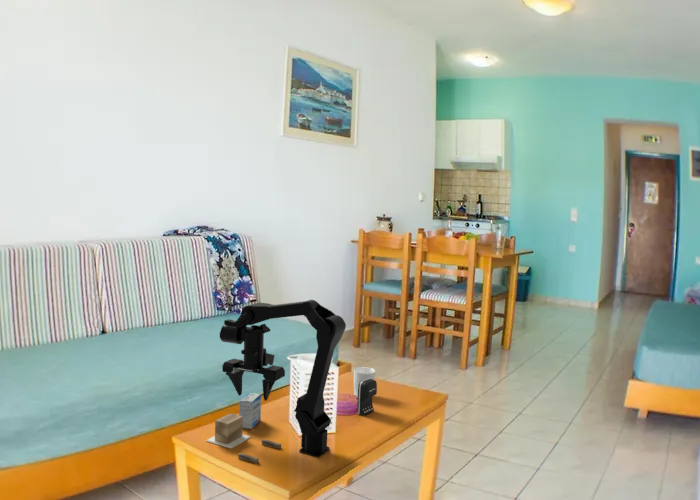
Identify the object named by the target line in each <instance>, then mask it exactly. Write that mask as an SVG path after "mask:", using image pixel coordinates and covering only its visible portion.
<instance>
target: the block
mask: <svg viewBox="0 0 700 500" xmlns="http://www.w3.org/2000/svg"><path fill="white" fill-rule="evenodd" d="M214 422H215V424H214V425H215V427H214V436H215V441H217V442H221V443H224V444H229V443H231V442H232V441H234V440H236V439H238V438H240V437H241V436H242V434H243V429H244V428H243V416H239V414H235V413H232V412H231V413H228V414H226V415H224V416H222V417H220V418H218V419H216V420H215V421H214Z"/></svg>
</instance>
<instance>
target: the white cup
mask: <svg viewBox="0 0 700 500" xmlns="http://www.w3.org/2000/svg"><path fill="white" fill-rule="evenodd" d="M367 378H370V379H373V380H375V379H376V370H375V368H372V367H368V366H367V367H365V366H364V367H362V366H360V367H355V368H354V369H353V396H354V395H356V396H358V385H359V382H360V381H362V380H364V379H367ZM375 381H376V380H375Z"/></svg>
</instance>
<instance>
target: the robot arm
mask: <svg viewBox="0 0 700 500" xmlns="http://www.w3.org/2000/svg"><path fill="white" fill-rule="evenodd" d="M298 316H304V317H305V318H306V319H307V322H308V323H309V325H310V326H311V327H312V328H314V330H315V331H316V337H315V338H316V343H317V349H316V354H315V357H314V362H313V366H312V369H311V374H310V377H309V382H308V384H307V385H308V386H307V391H306V393H304V394H302V395H301V396H299V397H297V400H296V407H295V409H294V410H293V412H294V413H295V419H296V420H297V423H298V426H299V429H300V433H301V442H300V443H301V445H300V446H301V448H299V453H302V454H306V455H310V456H313V457H316V458H317V457H318V458H319V457H321V456H322V455H323V454H325V453H326V452H327V451H330V447H329V446H328V429H326V428H328V427H330V425H331V423H332V419H331V418H330V416H329V415H328V413H326V410H325V400H324V391H325V387H326V383H327V380H328V375H329V372H330V368H331V364H332V361H333V356H334V351H335V349H336V347H337V345H338V344H339V342H340V340H341V339H342V337H343V335H344V333H345V331H346V326H347V324H346V322H345V320H344V318H343V317H342V316H340V315H338V314H335V313H334V312H333V311H332V310H330V309H329V308H327V307H325V306H323V305H321V304H320V303H319V302H318V301H316V300H314V299H308V300H306V301H305V300H304V301H296V302H288V303H280V304H273V303H272V304H271V303H266V302H255V303H252V304H248V305H245V306H243V307H242V310H241V313H240V315H239V317H238V318H237V319H236V320H233V319H229V318H228V319H225V320H224V323H223V325H222V326H221V328H220V331H219V339H220V341H221V342H223V343H230V344H235V345H241V344H243V349H241V350H240V353H241V355H243V359H237V358H232V359H229V360H227V361H224V362H223V364H222V366H221V369H222V372H223V373H225V375H226V376H228V379H229V380H230V381H231V383H232V385H233V388H234V389H235V391H236V393H237V395H238V396H241V395H242V393H243V377H244V373H245V372H248V373H255V374H259V375H262V378H264V379H262V381H261V382H262V392H263V401H265V402H266V401H267V400H268V399H269V397H270V394H271V392H272V388H273V386H274V384H275V383H276V381H278V380H280V379H283V378H284V377H285V376H286V375H285V374H286V370H285V368H284V367H283V366H278V365H274V362H275V356H276V355H275V354H271V353H268V352H267V348H265V347H264V346H265V345H264V343H265V342H264V341H265V340H264V339H265V338H264V337H265V336H264V335H265V334H267V333H269V332H271V328H270V327H268V326H267V324H266V323H262V324H259V325H256V324H258V323H261V322H265V321H268V320H271V319H280V318H288V317H289V318H290V317H298ZM268 365H270V366H269V367H267V366H268Z"/></svg>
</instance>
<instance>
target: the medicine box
mask: <svg viewBox="0 0 700 500" xmlns="http://www.w3.org/2000/svg"><path fill="white" fill-rule="evenodd" d="M238 408H239V409H238V415H239V416H243V429H247V430H249V429H250V430H252V429H254V427H255V426H256V425H257V424H258V423H259V422H260V421H261V415H262V411H261V410H262V394H261V393H254V392H250V393H248V394H246V395H245V396H243V398H241V400H239V401H238Z"/></svg>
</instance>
